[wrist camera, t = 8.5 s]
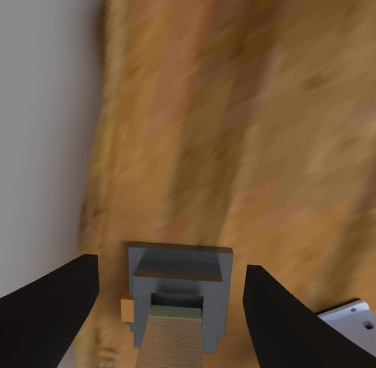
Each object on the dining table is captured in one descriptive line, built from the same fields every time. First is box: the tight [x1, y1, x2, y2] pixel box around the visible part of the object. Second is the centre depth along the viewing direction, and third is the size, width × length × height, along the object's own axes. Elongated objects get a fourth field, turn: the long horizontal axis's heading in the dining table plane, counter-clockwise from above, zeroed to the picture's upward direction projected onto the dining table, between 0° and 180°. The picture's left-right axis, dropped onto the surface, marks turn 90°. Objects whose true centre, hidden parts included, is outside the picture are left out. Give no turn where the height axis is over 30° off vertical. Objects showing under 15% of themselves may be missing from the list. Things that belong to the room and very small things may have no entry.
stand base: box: [121, 242, 233, 353], centre depth 20 cm, size 10×10×4 cm
